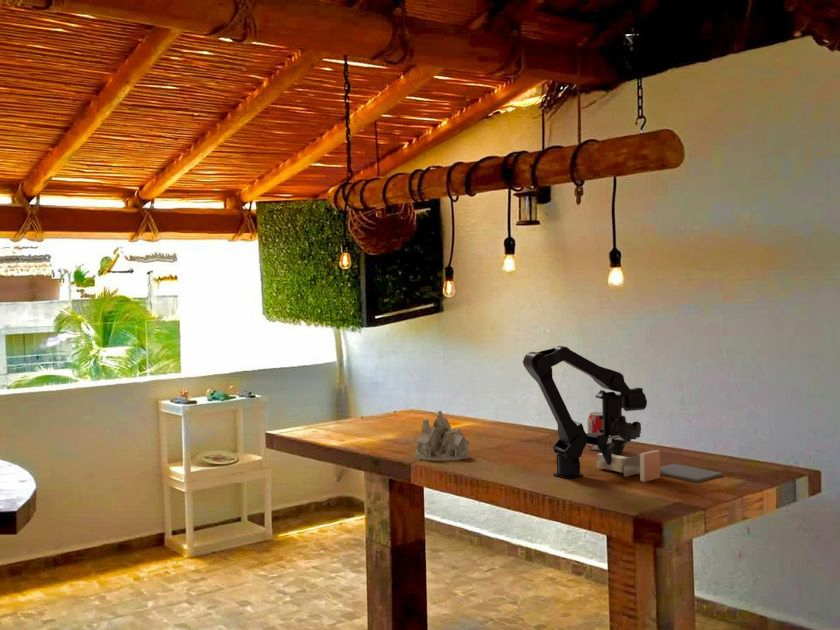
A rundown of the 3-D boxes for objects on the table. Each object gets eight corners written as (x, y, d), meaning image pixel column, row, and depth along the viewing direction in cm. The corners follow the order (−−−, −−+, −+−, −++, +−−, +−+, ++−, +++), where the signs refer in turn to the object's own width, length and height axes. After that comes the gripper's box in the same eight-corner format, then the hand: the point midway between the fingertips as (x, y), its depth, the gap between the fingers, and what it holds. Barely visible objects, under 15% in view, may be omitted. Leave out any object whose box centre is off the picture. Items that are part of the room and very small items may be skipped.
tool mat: (648, 472, 265) (648, 469, 265) (674, 466, 273) (674, 463, 272) (696, 482, 252) (696, 479, 252) (722, 475, 259) (722, 473, 259)
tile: (640, 480, 256) (639, 453, 256) (656, 476, 260) (655, 449, 260) (644, 481, 255) (644, 454, 254) (660, 477, 259) (660, 450, 258)
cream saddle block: (590, 468, 270) (590, 452, 270) (610, 463, 275) (610, 447, 275) (626, 476, 259) (626, 459, 259) (646, 471, 264) (646, 454, 264)
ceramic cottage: (408, 455, 299) (410, 411, 298) (450, 451, 307) (451, 408, 306) (432, 467, 286) (434, 420, 284) (475, 462, 294) (477, 417, 293)
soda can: (605, 451, 296) (604, 415, 296) (585, 450, 300) (584, 414, 299) (612, 447, 302) (611, 412, 302) (592, 446, 306) (591, 411, 306)
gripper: (611, 419, 256) (612, 473, 257) (653, 411, 267) (654, 463, 268) (582, 415, 265) (583, 467, 266) (625, 407, 276) (625, 457, 277)
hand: (613, 463), depth 269 cm, fingers closed on cream saddle block, 3 cm apart
